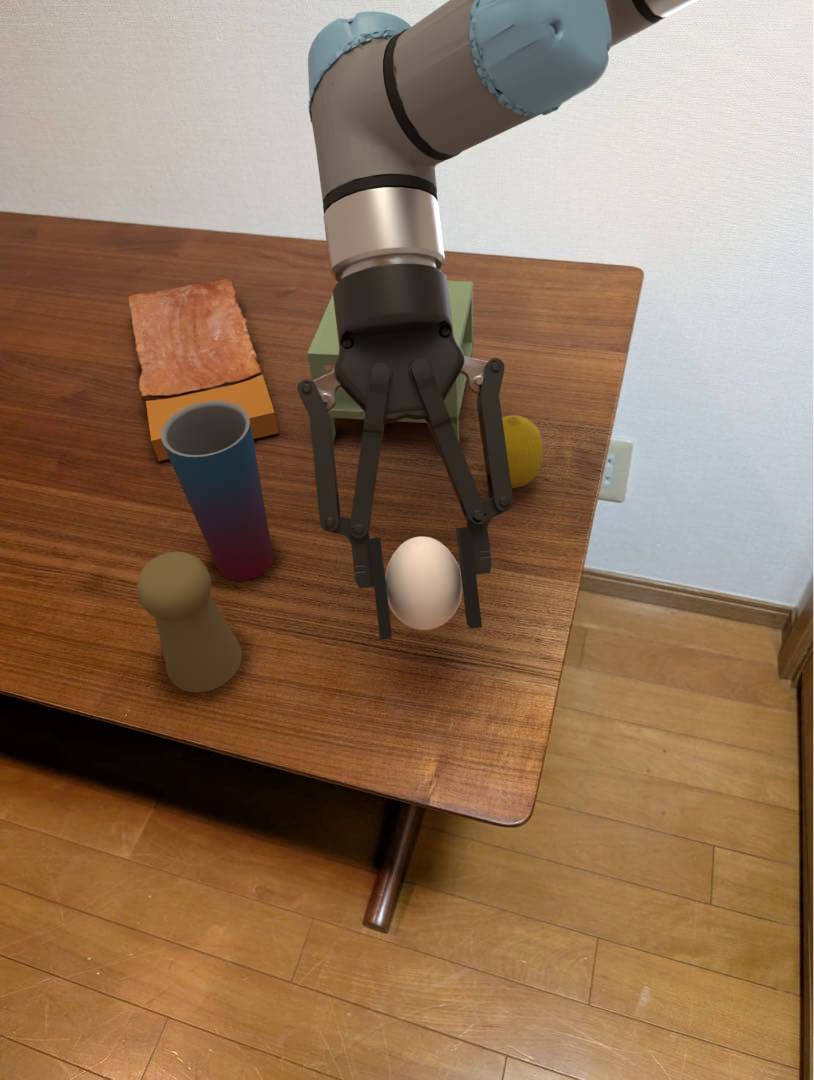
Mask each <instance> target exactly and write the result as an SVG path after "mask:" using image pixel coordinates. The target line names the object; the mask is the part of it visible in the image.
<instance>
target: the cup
mask: <svg viewBox="0 0 814 1080" xmlns="http://www.w3.org/2000/svg"><path fill="white" fill-rule="evenodd" d="M161 441H162V443H163V445H164V447H165V450H166V452H167V454H168V457H169V459H168V460H169V461H170V464H171V465H172V468H173V470H174V472H175V475H176V478H177V479H178V482H179V485H180V486H181V489H182V491H183V493H184V495H185V497H186V500H187V503H188V504H189V506H190V510H191V511H192V513H193V516H194V518H195V520H196V522H197V525H198V527H199V529H200V531H201V532H200V533H202V536H203V538H204V540H205V544H206V545H207V548H208V549H209V550H208V551H209V552H210V554H211V556H212V559H213V561H214V564H215V566H216V568H217V570H218V573H220V575H221V576H223V577H224V578H225V579H228V580H230V581H236V582H245V581H250V580H253V579H256V578H258V577H259V576H261V575H263V574H264V573H265V572H267V571H268V569H269V568H270V567H271V565H272V564H273V560H274V552H273V547H272V540H271V535H270V529H269V523H268V517H267V512H266V506H265V500H264V499H265V498H264V494H263V488H262V483H261V482H262V481H261V477H260V471H259V465H258V459H257V453H256V448H255V441H254V439H253V435H252V429H251V424H250V418H249V416H248V414H247V412H246V411H245V410H244V409H243V408H241V407H240V406H238V405H236V404H233V403H230V402H225V401H206V402H201V403H197V404H194V405H190V406H188V407H186V408H184V409H182V410H180V411H178V412H177V413H175V414H174V415H173V416H172V417H170V418H169V419H168V421H167V422H166V423H165V425H164V426H163V428H162V432H161Z"/></svg>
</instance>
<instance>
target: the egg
mask: <svg viewBox="0 0 814 1080" xmlns="http://www.w3.org/2000/svg"><path fill="white" fill-rule="evenodd" d="M385 579H386V588H387V596H388V605H389V609H390V610H391V612H392V614H393V615H394V616H395V617H396V618H397V619H398V620H399V621H400V622H401V623H402V624H404V625H406V626H408V627H409V628H412V629H415V630H421V631H425V630H427V631H428V630H434V629H436V628H439V627H440V626H443V625H444V624H446V623H447V622H448V621H450V620H451V619H452V618H453V617H454V615H455V614H456V612H457V611H458V609H459V606H460V604H461V602H462V596H463V587H462V579H461V570H460V564H458V561H457V560H456V558H455V556H454V555H453V554H452V552H451V550H450V549H449V548H448V547H446V546H445V545H444V544H443V543H442V542H440V541H439V540H438V539H435V538H433V537H431V536H415V537H412V538H408V539H407V540H405V541H404V542H402V543H401V544H400V545H399V546H398V547H397V549H395V551H394V552H393V554H392V555H391V557H390V560H389V561H388V564H387V566H386V569H385Z"/></svg>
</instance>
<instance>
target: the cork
mask: <svg viewBox="0 0 814 1080" xmlns="http://www.w3.org/2000/svg"><path fill="white" fill-rule="evenodd" d="M211 590H212V579H211V575H210V573H209V570H208V568H207V566H206V565H205V564H204V562H203V561H201V559H200V558H199V557H197V556H195V555H193V554H191V553H188V552H185V551H170V552H165V553H163V554H162V553H161V554H159V555H157V556H156V557H154V558H152V559H150V560H149V561H148V562H147V563H146V564H145V565H144V566H143V568H142V569H141V571H140V573H139V574H138V576H137V581H136V594H137V597H138V601H139V602H140V605H141V606H142V607H143V608H144V610H145V611H146V612H147V613H149V615H150V616H152V617H154V620H155V624H156V628H157V633H158V637H159V642H160V646H161V651H162V655H163V660H164V664H165V667H166V672H167V676H168V678H169V680H170V681H171V683H172V684H173V685H174V686H175V687H176V688H178V689H180V690H182V691H184V692H188V693H193V694H194V693H195V694H197V693H206V692H207V693H208V692H210V691H213V690H215V689H217V688H220V687H222V686H224V684H227V683H228V682H229V681H230V680H231V679H233V677H234V676H235V675H236V673H238V671H239V668H240V666H241V664H242V662H243V650H242V648H241V645H240V643H239V641H238V639H237V637H236V636H235V633H233V631H232V629H231V628H230V625H229V624H228V623H227V621H226V619H225V617H224V616H223V614H222V612H221V611H220V609H219V607H218V606H217V603H216V602H215V601H214V599H213V598H212V596H211Z"/></svg>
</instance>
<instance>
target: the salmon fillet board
mask: <svg viewBox="0 0 814 1080" xmlns="http://www.w3.org/2000/svg"><path fill="white" fill-rule="evenodd" d="M127 299H128V308H129V311H130V316H131V325H132V333H133V337H134V343H135V352H136V355H137V359H138V363H139V366H140V370H141V373H140V376H139V378H138V379H139V380H138V389H139V391H140V394H141V395H140V397H141V400H142V401H143V402H144V404H145V407H146V414H147V420H148V428H149V434H150V442H151V445H152V447H153V450H154V452H155V456H156V459H157V461H158V462H162V461H165V460H166V461H167V460H170V459H169V457H168V454H167V452H166V450H165V447H164V445H163V443H162V441H161V432H162V428H163V426H164V425H165V423H166V422H167V421H168V419H169V418H170V417H172V416H173V415H174V414H175V413H177V412H178V411H180V410H182V409H184V408H186V407H188V406H190V405H194V404H197V403H201V402H206V401H225V402H230V403H233V404H236V405H238V406H240V407H241V408H243V409H244V410H245V411H246V412H247V414H248V416H249V418H250V424H251V429H252V435H253V440H255V439H260V438H263V437H268V436H273V435H276V434H279V433H280V431H279V426H278V422H277V417H276V414H275V410H274V406H273V402H272V400H271V397H270V394H269V390H268V387H267V384H266V381H265V378H264V374H263V373H262V370H261V365H260V364H259V362H258V357H257V356H258V355H257V352H256V351H255V347H254V344H253V342H252V337H251V334H250V330H249V328H248V325H247V321H248V320H247V319H246V318H245V317H244V314H243V311H242V309H241V306H240V304H239V299H238V293H237V290H236V287H235V284H234V283H233V281H231V279H229V278H223V279H219V280H213V281H210V282H202V283H196V284H195V283H194V284H189V285H184V286H179V287H175V288H168V289H161V290H157V291H156V290H155V291H150V292H139V293H135V294H129V295H128V298H127Z"/></svg>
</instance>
